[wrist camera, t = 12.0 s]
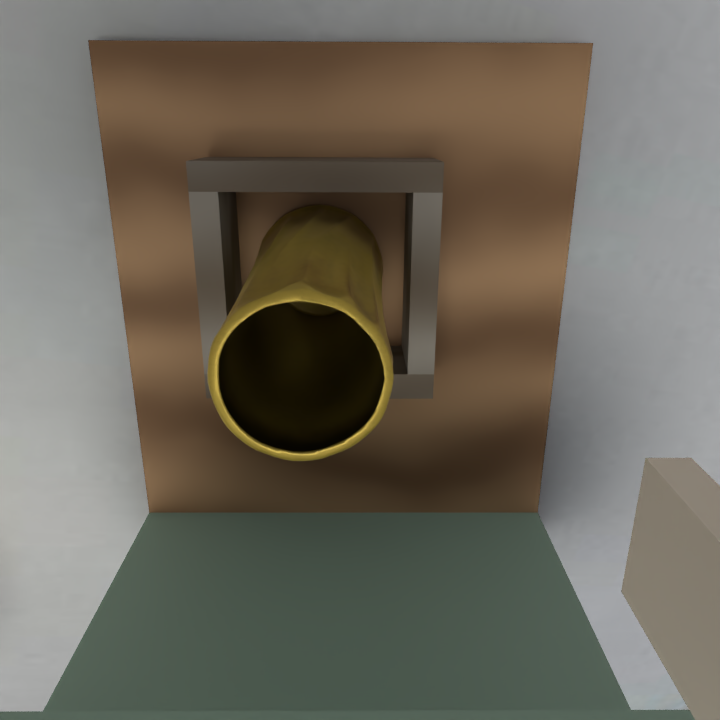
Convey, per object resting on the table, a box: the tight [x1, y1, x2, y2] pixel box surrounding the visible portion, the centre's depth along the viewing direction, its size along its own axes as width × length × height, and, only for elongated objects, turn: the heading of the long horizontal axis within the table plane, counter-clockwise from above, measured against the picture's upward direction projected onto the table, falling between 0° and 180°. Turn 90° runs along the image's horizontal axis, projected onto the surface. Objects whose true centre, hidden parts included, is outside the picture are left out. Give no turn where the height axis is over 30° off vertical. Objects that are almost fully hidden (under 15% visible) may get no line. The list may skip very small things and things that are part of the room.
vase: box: [207, 205, 394, 461], centre depth 24 cm, size 6×6×14 cm
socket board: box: [88, 40, 593, 513], centre depth 31 cm, size 26×22×5 cm
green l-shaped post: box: [0, 513, 695, 720], centre depth 25 cm, size 9×22×20 cm, turn 90°
